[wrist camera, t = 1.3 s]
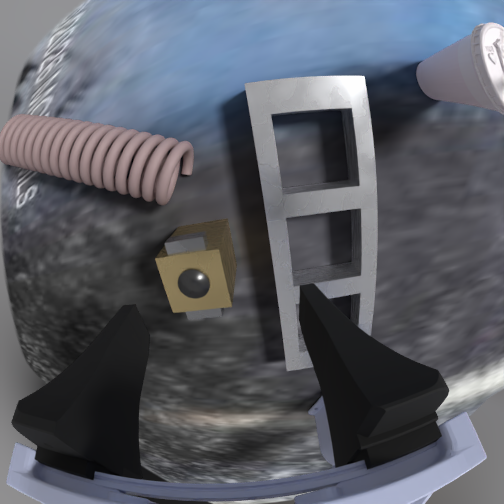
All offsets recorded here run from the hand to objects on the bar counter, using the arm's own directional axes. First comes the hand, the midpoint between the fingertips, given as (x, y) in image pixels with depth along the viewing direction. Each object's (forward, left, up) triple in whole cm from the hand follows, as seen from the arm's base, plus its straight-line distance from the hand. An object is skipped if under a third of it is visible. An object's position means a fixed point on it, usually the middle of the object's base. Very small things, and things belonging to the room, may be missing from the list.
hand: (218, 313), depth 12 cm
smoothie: (+19, -11, -11) cm, 24 cm away
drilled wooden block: (-2, +1, -11) cm, 11 cm away
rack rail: (+2, -7, -11) cm, 13 cm away
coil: (+3, +13, -11) cm, 18 cm away
